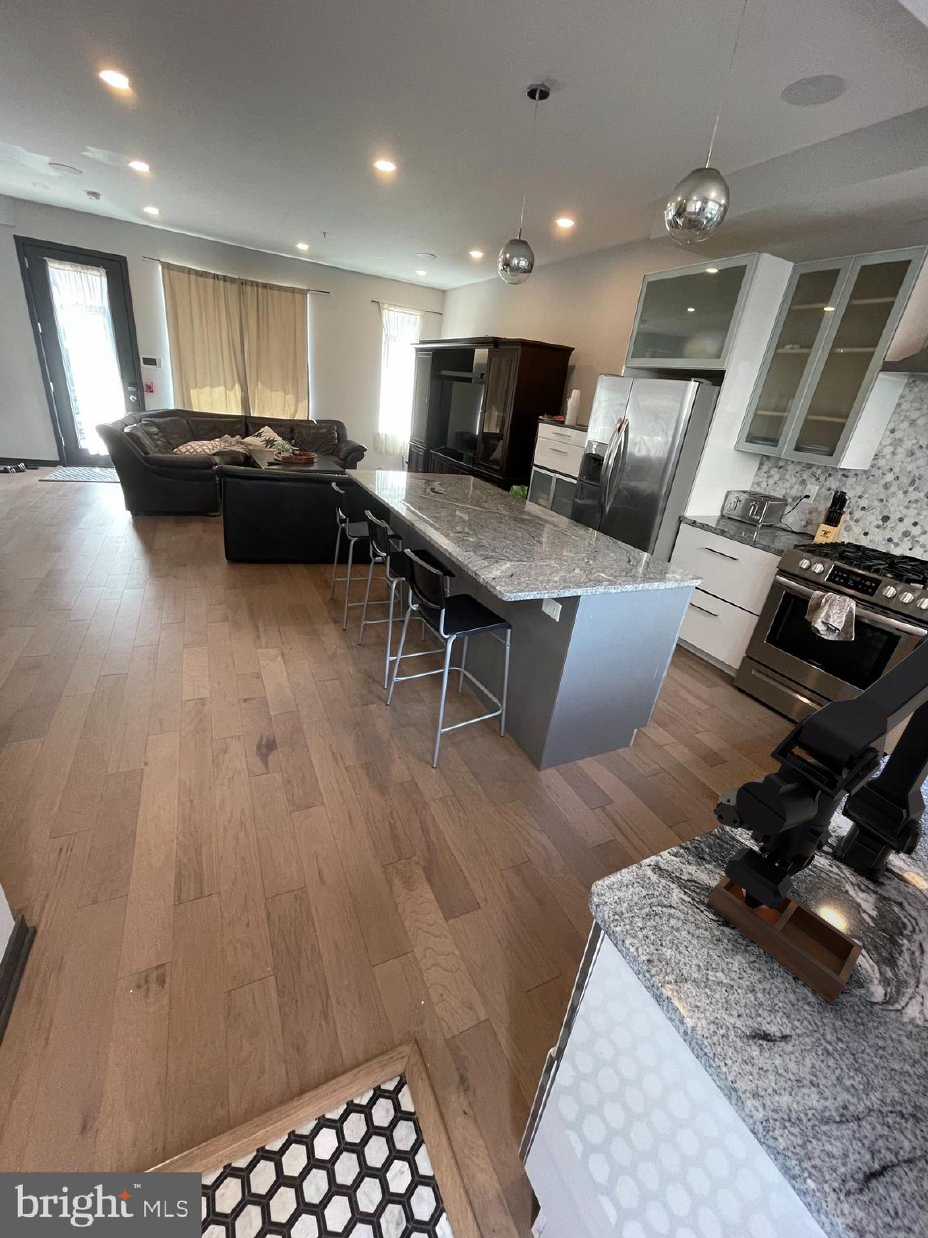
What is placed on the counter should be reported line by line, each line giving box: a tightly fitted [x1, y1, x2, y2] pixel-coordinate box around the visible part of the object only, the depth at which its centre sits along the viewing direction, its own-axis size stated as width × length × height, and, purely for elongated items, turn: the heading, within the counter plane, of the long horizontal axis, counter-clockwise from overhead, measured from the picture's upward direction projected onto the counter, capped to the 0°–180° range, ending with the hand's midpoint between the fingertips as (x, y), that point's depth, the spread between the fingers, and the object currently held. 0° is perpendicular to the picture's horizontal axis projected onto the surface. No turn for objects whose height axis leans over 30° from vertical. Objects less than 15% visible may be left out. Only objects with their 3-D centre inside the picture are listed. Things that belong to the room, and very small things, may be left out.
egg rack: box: [706, 874, 864, 1005], centre depth 66 cm, size 8×15×4 cm, turn 39°
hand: (756, 896), depth 68 cm, fingers closed on egg, 4 cm apart
